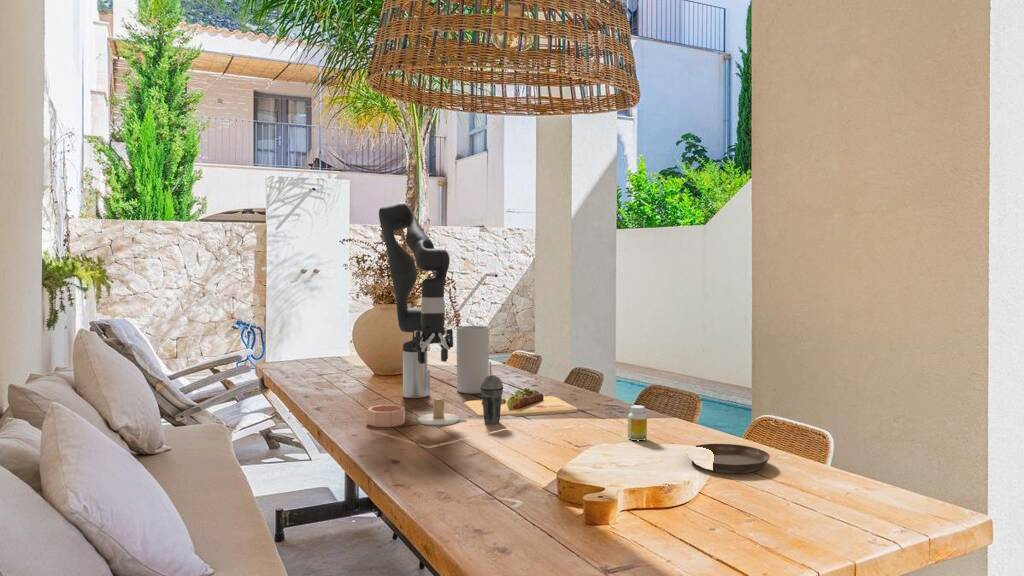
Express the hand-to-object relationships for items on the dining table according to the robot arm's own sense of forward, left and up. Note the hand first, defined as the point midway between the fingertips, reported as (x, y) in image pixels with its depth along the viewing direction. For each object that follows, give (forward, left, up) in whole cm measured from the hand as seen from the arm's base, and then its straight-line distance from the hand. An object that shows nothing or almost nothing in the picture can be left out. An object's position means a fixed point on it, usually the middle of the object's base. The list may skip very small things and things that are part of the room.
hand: (432, 362), depth 234 cm
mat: (0, +2, -19) cm, 19 cm away
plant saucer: (-22, +90, -20) cm, 95 cm away
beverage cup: (-10, +16, -19) cm, 27 cm away
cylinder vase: (-44, -30, -19) cm, 57 cm away
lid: (0, +2, -19) cm, 19 cm away
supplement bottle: (-27, +59, -19) cm, 68 cm away
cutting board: (-34, +5, -20) cm, 40 cm away
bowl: (+13, -8, -19) cm, 24 cm away
